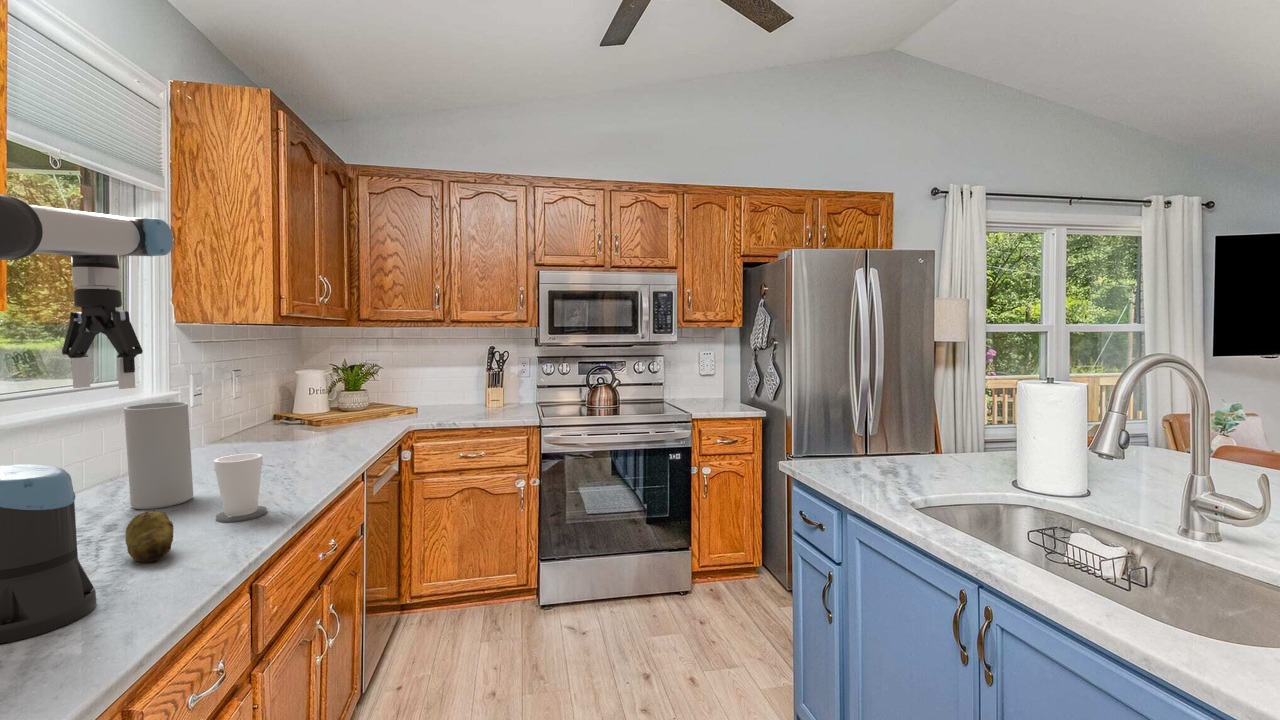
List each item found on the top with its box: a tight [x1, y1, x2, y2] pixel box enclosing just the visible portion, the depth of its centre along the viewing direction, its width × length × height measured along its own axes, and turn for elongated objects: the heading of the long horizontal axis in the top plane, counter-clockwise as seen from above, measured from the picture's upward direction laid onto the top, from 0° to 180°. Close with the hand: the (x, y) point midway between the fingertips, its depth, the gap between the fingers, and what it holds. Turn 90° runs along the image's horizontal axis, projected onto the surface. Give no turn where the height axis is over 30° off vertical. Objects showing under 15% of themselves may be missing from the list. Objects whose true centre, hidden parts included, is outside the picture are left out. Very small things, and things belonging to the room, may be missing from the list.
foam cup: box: [213, 453, 264, 516], centre depth 140 cm, size 10×9×13 cm
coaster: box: [215, 505, 268, 523], centre depth 140 cm, size 10×10×1 cm
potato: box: [124, 510, 174, 563], centre depth 115 cm, size 8×13×8 cm, turn 28°
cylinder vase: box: [123, 401, 194, 510], centre depth 151 cm, size 12×12×25 cm
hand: (104, 388), depth 127 cm, fingers open, 13 cm apart
